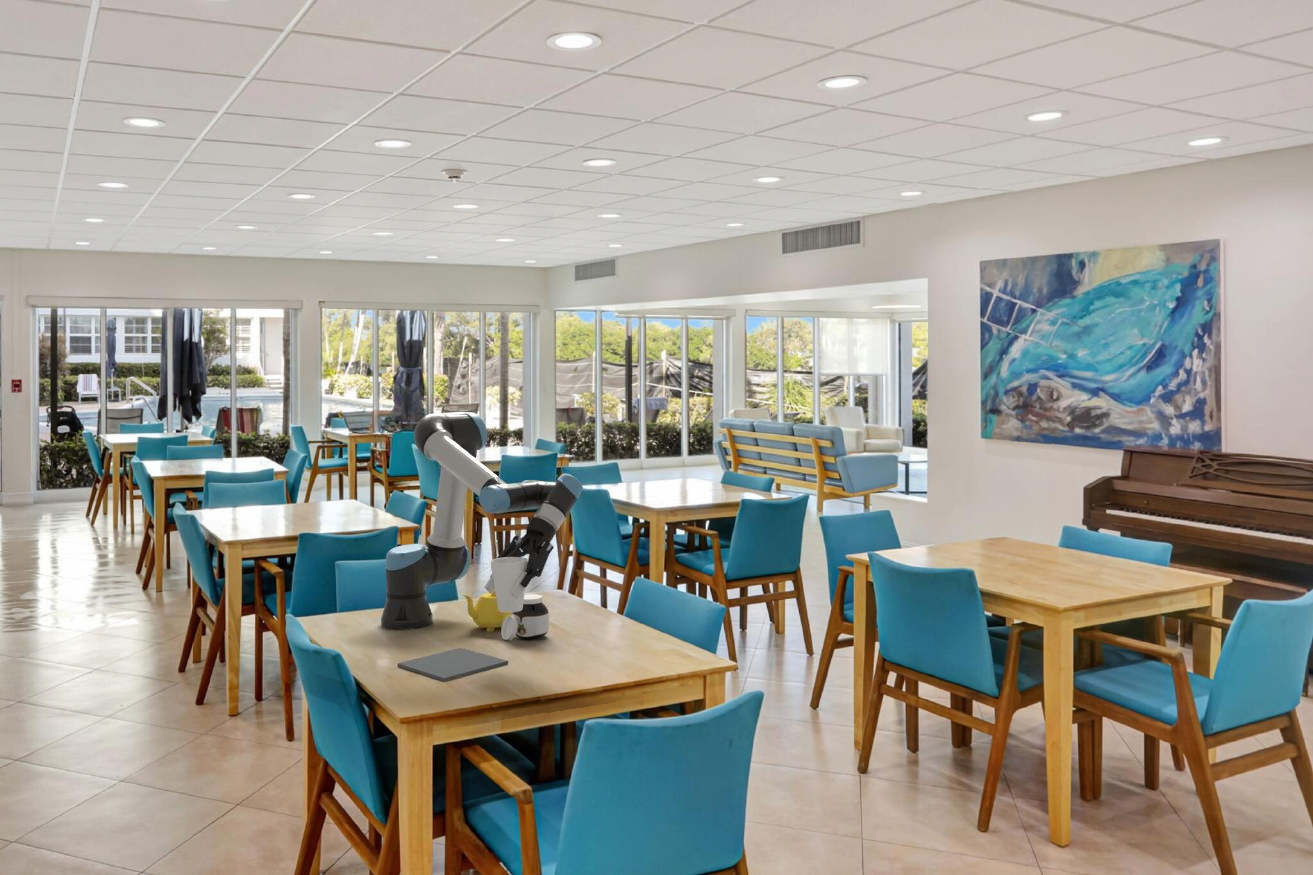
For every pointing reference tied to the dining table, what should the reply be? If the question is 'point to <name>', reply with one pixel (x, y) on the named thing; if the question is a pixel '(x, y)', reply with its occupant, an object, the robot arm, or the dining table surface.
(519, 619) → the spread jar
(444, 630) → the dining table surface
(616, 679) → the dining table surface
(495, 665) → the rubber mat
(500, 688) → the dining table surface
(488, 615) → the teapot
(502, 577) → the foam cup
